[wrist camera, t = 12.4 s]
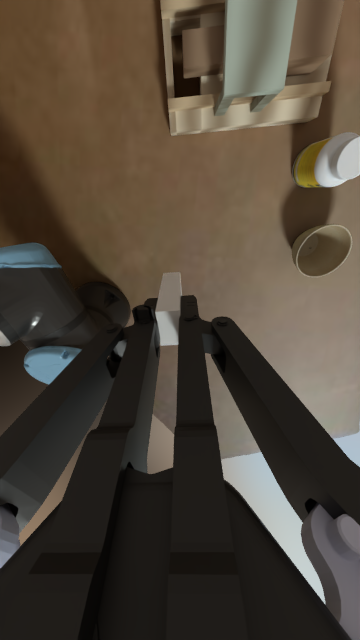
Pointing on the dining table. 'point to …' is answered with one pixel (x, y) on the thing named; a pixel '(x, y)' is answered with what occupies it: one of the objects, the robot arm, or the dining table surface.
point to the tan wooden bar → (305, 51)
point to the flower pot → (321, 249)
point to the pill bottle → (328, 161)
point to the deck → (216, 86)
